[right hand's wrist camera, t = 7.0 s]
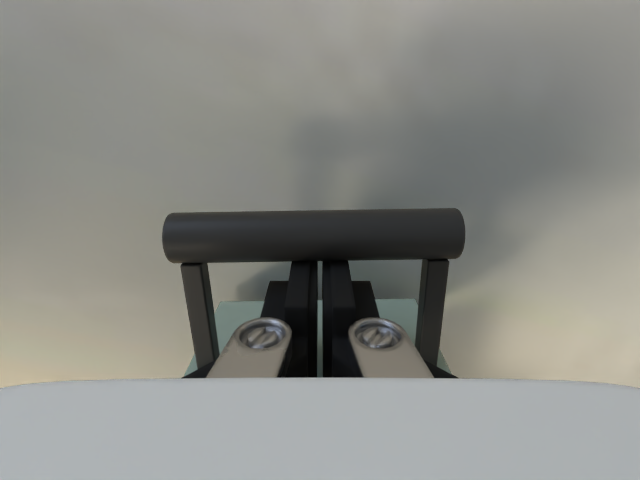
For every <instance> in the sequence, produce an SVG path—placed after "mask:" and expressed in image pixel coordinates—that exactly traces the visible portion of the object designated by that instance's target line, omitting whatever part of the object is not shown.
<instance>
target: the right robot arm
mask: <svg viewBox="0 0 640 480" xmlns="http://www.w3.org/2000/svg"><path fill="white" fill-rule="evenodd" d="M317 342H318V261H292V264H291V270H290V276H289V281H270V283H269V286H268V290H267V293H266V297H265V301H264V305H263V308H262V312H261V316H260V318H256V319H252V320H249V321H247V322H245V323H243V324H241V325H240V326H239V327H238V328H237V329H236V330H235V331H234V333H233V334H232V336H231V338H230V339H229V341H228V342H227V344H226V346H225V347H224V349H223V351H222V352H221V354H220V355H219V357H218V359H216V360H214V361H213V362H211V363H209V364H207V365H205V366H203V367H201V368H199V369H197V370H196V371H194V372H192V373H190V374H188V375H186V376H184V377H182V378H180V379H113V380H82V381H57V382H44V383H32V384H24V385H17V386H10V387H4V388H0V480H640V388H635V387H630V386H623V385H616V384H607V383H596V382H582V381H560V380H524V379H459V378H458V377H456V376H454V375H452V374H450V373H448V372H446V371H444V370H443V369H441V368H439V367H437V366H435V365H433V364H431V363H429V362H427V361H426V360H424V359H422V357H421V355H420V354H419V352H418V351H417V349H416V347H415V346H414V344H413V342H412V341H411V339H410V338H409V336H408V334H407V333H406V331H405V330H404V329H403V328H402V327H401V326H400V325H399V324H397V323H395V322H393V321H391V320H388V319H384V318H380V316H379V312H378V308H377V305H376V301H375V297H374V294H373V290H372V286H371V283H370V281H351V276H350V270H349V264H348V260H347V261H322V344H323V378H317Z"/></svg>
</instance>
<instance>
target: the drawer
mask: <svg viewBox="0 0 640 480" xmlns="http://www.w3.org/2000/svg"><path fill="white" fill-rule="evenodd" d="M162 241H163V248H164V252H165V255H166V257H167V259H168V260H169V261H170V262H172V263H182V264H181V272H182V278H183V284H184V290H185V296H186V302H187V308H188V315H189V321H190V327H191V333H192V339H193V345H194V351H195V355H194V357H193V359H192V361H191V363H190V365H189V367H188V369H187V371H186V373H185V375H184V376H186V375H188V374H190V373H192V372H194V371H196V370H197V369H199V368H201V367H203V366H205V365H207V364H209V363H211V362H213V361H214V360H216V359H218V357H219V355H220V354H221V352H222V351H223V349H224V347H225V346H226V344H227V342H228V341H229V339H230V338H231V336H232V334H233V333H234V331H235V330H236V329H237V328H238V327H239V326H240V325H241V324H243V323H245V322H247V321H249V320H252V319H256V318H260V316H261V312H262V308H263V305H264V301H228V302H220V304H219V306H218V308H217V310H216V312H215V314H214V309H213V301H212V294H211V287H210V279H209V272H208V265H207V263H220V262H284V261H347V260H410V259H422V270H421V281H420V292H419V304H417V302H416V300H415V299H375V301H376V305H377V308H378V312H379V316H380V318H384V319H388V320H391V321H393V322H395V323H397V324H399V325H400V326H401V327H402V328H403V329H404V330H405V331H406V333H407V334H408V336H409V338H410V339H411V341H412V342H413V344H414V346H415V347H416V349H417V351H418V352H419V354H420V355H421V357H422V359H424V360H426V361H427V362H429V363H431V364H433V365H435V366H437V367H439V368H441V369H443V370H444V371H446V372H448V373H450V374H451V372H450V370H449V368H448V366H447V364H446V362H445V359H444V357H443V355H442V353H441V351H440V349H439V344H440V335H441V327H442V318H443V310H444V301H445V293H446V284H447V276H448V267H449V261H448V259H456V258H458V257H459V256H460V255H461V254H462V251H463V248H464V243H465V225H464V220H463V217H462V214H461V212H460V211H459V210H458V209H455V208H439V209H379V210H318V211H257V212H196V213H171V214H169V215H168V216H167V218H166V219H165V222H164V226H163V233H162ZM317 378H323V344H322V300H318V342H317Z"/></svg>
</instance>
